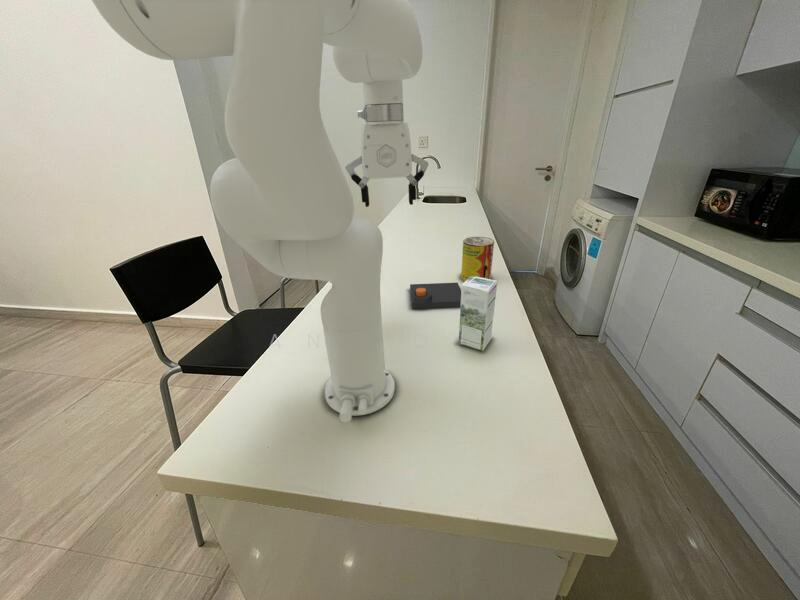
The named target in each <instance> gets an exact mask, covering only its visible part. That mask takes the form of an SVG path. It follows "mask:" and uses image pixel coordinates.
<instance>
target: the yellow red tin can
mask: <svg viewBox="0 0 800 600" xmlns="http://www.w3.org/2000/svg"><path fill="white" fill-rule="evenodd" d="M494 246H495V240H494V239H493V238H490V237H487V236H469V237H466V238H464V239H463V240H462V256H461V257H462V258H461V276H460V277H461V280H462V281H464V282H465V281H466V280H467V279H468V278H469V277H470V276H475V277H481V278H486V279H491V280H492V278H491V277H492V269H493V268H492V266H493V258H494V257H493V256H494Z"/></svg>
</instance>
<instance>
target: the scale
mask: <svg viewBox="0 0 800 600" xmlns="http://www.w3.org/2000/svg"><path fill="white" fill-rule="evenodd" d="M418 288H425V289H426V296H423V297H419V296H416V289H418ZM409 291H410V292H409V293H410V301H411V309H412V310H427V309H429V310H430V309H451V308H453V309H455V308H460V306H461V287H460V285H459V282H437V283H435V282H434V283H432V282H431V283H411V284H409Z"/></svg>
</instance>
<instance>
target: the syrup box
mask: <svg viewBox="0 0 800 600" xmlns="http://www.w3.org/2000/svg"><path fill="white" fill-rule="evenodd" d="M497 288H498V280H496V279H492V278H491V279H486V278H481V277H475V276H470V277H469V278H468V279H467V280H466V281H464V282H463V283H462V284H461V287H460V289H461V306H460V307H459V326H458V344H459V345H461V346H465V347H468V348H471V349H474V350H477V351H481V352H483V351H484V350H485V349H486V348H487V346H488V344H489V343H490V342H491V340H492V336H493V323H494V313H495V307H496V306H495V305H496V299H497V298H496V297H497Z"/></svg>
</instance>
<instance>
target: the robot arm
mask: <svg viewBox="0 0 800 600" xmlns="http://www.w3.org/2000/svg"><path fill="white" fill-rule="evenodd" d="M91 1H92V4H93V5H94V6H95V8H96V9H97V11H98V13H99V14H100V16H101V17H102V18H103V19H104V20H105V22H106V23H107V25H109V27H110V28H111V29H112V30H113V31H114V32H115V33H116V34H117V35H118V36H119V37H120V38H122V40H124V41H125V42H126V43H128V44H129V45H130V46H132V47H133V48H135V49H136V50H137V51H140V52H142V53H144V54H145V55H147V56H150V57H153V58H157V59H159V60H164V61H175V62H176V61H189V60H200V59H209V58H222V57H231V56H232V62H231V63H232V66H231V73H230V79H229V85H228V90H227V95H226V100H225V105H224V106H225V107H224V130H225V135H226V139H227V142H228V144H229V146H230V147H229V148H230V149H231V150H232V152H233V154H234V156H235V157H234V158H230V159H228V160H226V161H224V162H223V163H222V164H220V165H219V166H218V167H217V168H216V170H215V171H214V173H213V175H212V177H211V181H210V185H209V195H210V202H211V206H212V209H213V213H214V214H215V217H216V219H217V221H218V222H219V224H220V226H221V227H222V229H223V230H224V231H225V233H226V234H227V235H228V236H230V238H231V239H232V240H233V241H234V242H235V243H237V244H238V245H239V246H240V247H241V248H242V249H243V250H244V251H246V252H247V253H248V254H249V255H250V256H252V258H254V260H256V261H257V262H258V263H259V264H260V265H261V266H262V267H264V268H265V270H267V271H268V272H270V273H272V274H273V275H275V276H277V277H280V278H284V279H291V280H309V281H310V280H311V281H321V282H329V283H331V288H330V289H329V291H327V293H326V294H325V295H324V297H323V299H322V301H321V305H320V318H321V323H322V324H321V325H322V330H323V336H324V341H325V347H326V354H327V360H328V366H329V367H328V368H329V372H330V378H329V379H328V380H327V381H326V384H325V386H324V398H325V401H326V403H327V405H328V406H329V407H330V408H331V409H332V410H333V411H335V412H337V413H339V416H338V420H339V421H340V422H342V423H345V424H347V423H350V422H351V420H352V417H353V416H355V417H356V416H365V415H369V414H372V413H374V412H378V411H379V410H381V409H383V408H384V407H385V406H386V405H387V404H389V403H390V401H391V400H392V398H393V397H394V394H395V391H396V384H395V378H394V376H393V375H392V374H391V373H390V372H389V370H388V369H386V362H385V349H384V334H383V320H382V318H383V317H382V304H381V303H382V302H381V275H382V274H381V273H382V263H383V255H384V254H383V253H384V239H383V234H382V231H381V229H380V227H379V226H378V225H377V223H375V222H374V221H372V220H371V219H368V218H366V217H363V216H359V215H355V204H354V199H353V194H352V192H351V188H350V185H349V183H348V180H347V179H346V176H345V174H344V171H343V169H342V167H341V164H340V162H339V159H338V157H337V155H336V153H335V151H334V148H333V145H332V143H331V140H330V139H329V135H328V132H327V130H326V127H325V125H324V122H323V119H322V113H321V108H320V97H321V96H320V92H321V77H322V65H323V64H322V63H323V52H324V51H323V50H324V44H325V45H328V46H330V47H332V57H333V62H334V65H335V67H336V70H337V71H338V73H339V74H340V76H341V77H342V78H343V79H344V80H346V81H347V82H349V83H354V84H362V93H363V103H364V104H363V105H364V107H363V108H361V109H359V110H356V111H357V112H356V113H357V119H361V120H364V122H365V124H362V125H361V132H360V133H361V136H360V145H361V148H360V150H361V155H360V156H358V157H357V158H356V159H355V160H352V161H351V162H349V163H348V164H347V165H346V166H345V170H346V172H347V174H348V175H349V177H350V178H351V180H352V181H353V182H354V183H355V184H356V185H357V186H358V187H359V188H360V195H361V202H362V203H365V205H364V206H365V208H368V207H370V194H369V186H368V185H367V184H368V182H369V181H370V180H374V179H375V180H377V179H378V180H379V179H399V178H406V179H407V181H408V185H407V187H408V203H409V205H411V206H413V205H414V201H416V200H417V192H416V191H417V190H416V189H417V188H416V187H417V184H418V183H419V182H420V181H421V179H422V178H423V177H424V175H425V173H426V171H427V169H428V167H429V162H428V161H427V160H425V159H423V158H421V157H419V156H417V155H415V154H414V153H412V144H411V134H410V128H409V125H408V122H405V121H404V117H405V116H404V88H403V81H405V80H411V79H413V78H414V77H415V76H416V75H418V72H419V71H420V68H421V65H422V61H423V43H422V35H421V31H420V28H419V24H418V20H417V19H416V18H417V17H416V14H415V12H414V11H415V10H414V9H413V7H412V5H411V3H410V2H409V1H408V0H91ZM413 163H415V164H417V165H419V169H418V171H417V172H416V173H415V174H414V175H413V173H412V170H413ZM359 166H361V167H362V174H363V176H362V178H361V177H360V176H359V175H358V174H357V173H356V171H355V169H356V168H357V167H359Z"/></svg>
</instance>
